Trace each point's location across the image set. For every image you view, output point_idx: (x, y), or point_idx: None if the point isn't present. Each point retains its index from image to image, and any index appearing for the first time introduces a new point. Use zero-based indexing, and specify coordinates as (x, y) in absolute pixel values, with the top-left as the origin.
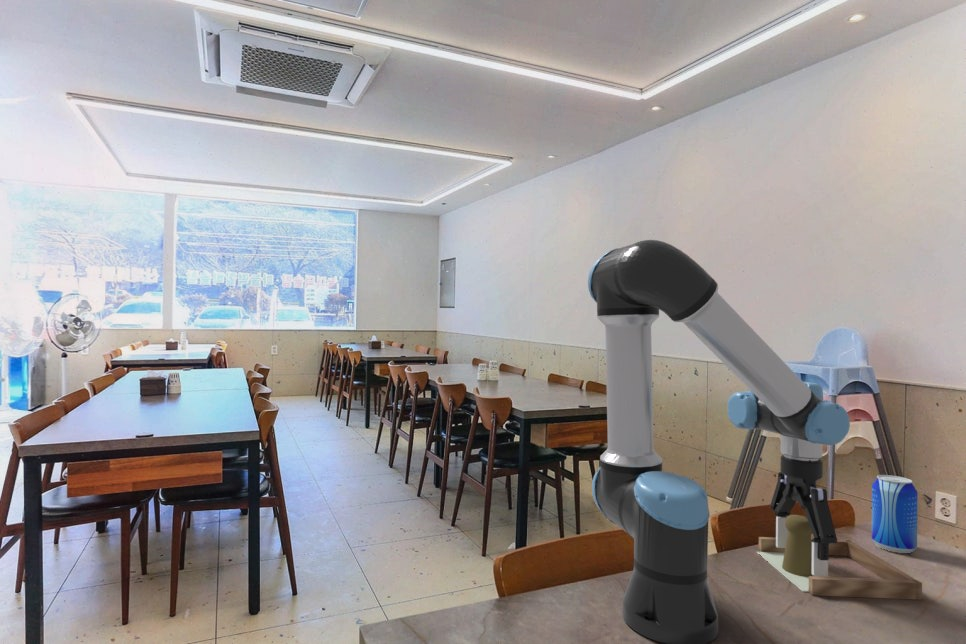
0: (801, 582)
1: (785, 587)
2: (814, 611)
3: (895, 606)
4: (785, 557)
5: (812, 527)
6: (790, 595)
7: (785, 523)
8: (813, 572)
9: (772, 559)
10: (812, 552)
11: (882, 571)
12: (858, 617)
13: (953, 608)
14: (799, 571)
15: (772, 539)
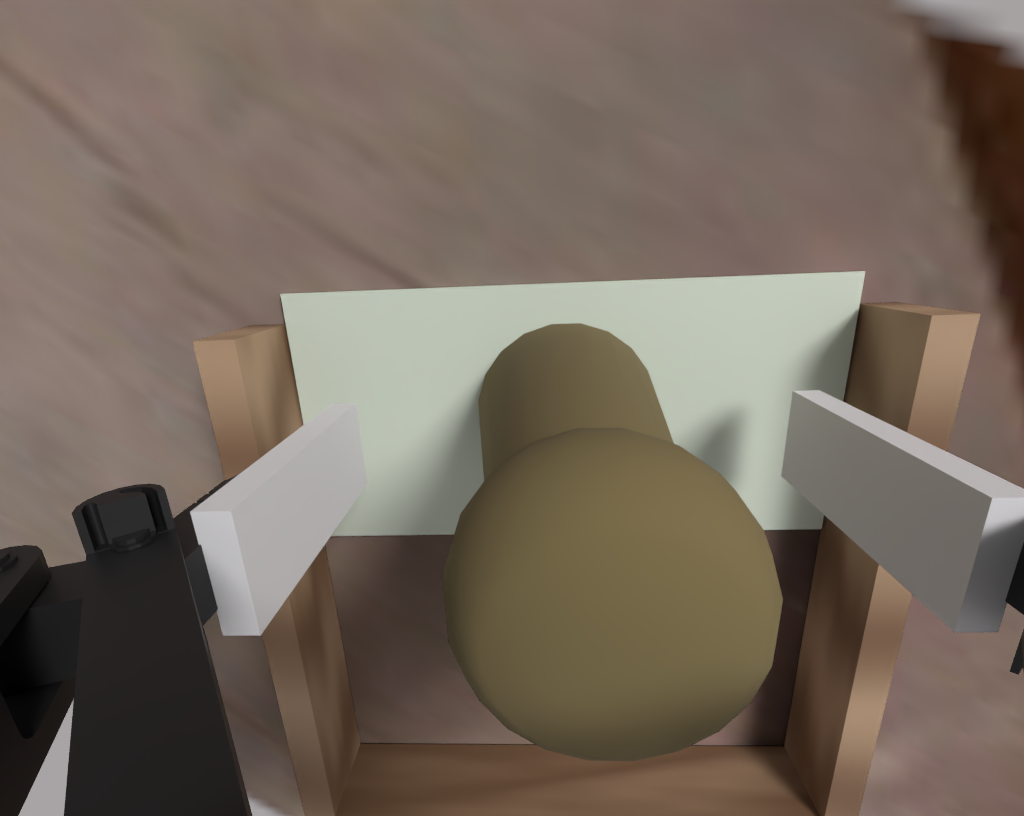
0: (392, 341)
1: (320, 213)
2: (51, 238)
3: (243, 639)
4: (576, 347)
5: (139, 613)
6: (215, 192)
7: (646, 442)
8: (326, 408)
9: (725, 322)
10: (279, 459)
11: (526, 775)
12: (70, 430)
13: (289, 811)
14: (486, 383)
15: (912, 406)
